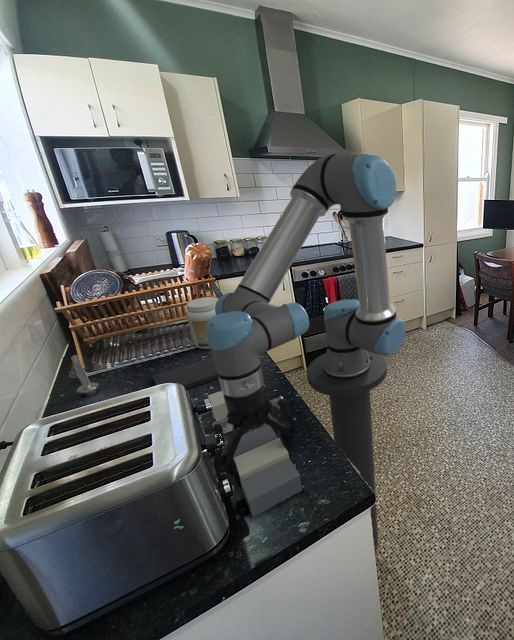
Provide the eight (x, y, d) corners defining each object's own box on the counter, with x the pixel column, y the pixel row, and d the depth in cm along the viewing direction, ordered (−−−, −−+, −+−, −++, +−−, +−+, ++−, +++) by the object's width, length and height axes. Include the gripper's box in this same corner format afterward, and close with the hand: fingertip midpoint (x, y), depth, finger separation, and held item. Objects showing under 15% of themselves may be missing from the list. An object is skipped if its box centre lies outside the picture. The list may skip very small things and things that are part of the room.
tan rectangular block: (282, 451, 83) (279, 437, 81) (291, 467, 79) (288, 452, 77) (236, 472, 77) (232, 458, 75) (244, 491, 73) (239, 475, 71)
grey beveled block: (292, 472, 78) (289, 457, 76) (302, 490, 74) (299, 475, 72) (244, 496, 72) (240, 481, 70) (252, 517, 68) (248, 501, 66)
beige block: (251, 395, 97) (248, 381, 95) (258, 405, 92) (255, 392, 91) (211, 409, 91) (207, 395, 89) (216, 421, 86) (212, 407, 85)
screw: (76, 399, 100) (84, 390, 104) (97, 396, 102) (104, 387, 106) (57, 361, 95) (66, 352, 99) (80, 358, 96) (88, 350, 100)
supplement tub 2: (238, 340, 135) (228, 300, 128) (206, 353, 126) (194, 310, 119) (220, 333, 141) (210, 293, 134) (188, 344, 131) (176, 303, 125)
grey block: (272, 437, 88) (269, 423, 86) (280, 451, 84) (277, 437, 82) (228, 456, 82) (224, 442, 80) (234, 472, 78) (230, 457, 76)
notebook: (160, 397, 102) (237, 371, 115) (158, 393, 101) (236, 367, 115) (153, 379, 110) (226, 357, 124) (151, 375, 110) (225, 353, 123)
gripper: (179, 422, 59) (210, 510, 69) (306, 376, 73) (318, 455, 82) (173, 400, 65) (203, 485, 74) (293, 361, 78) (306, 437, 87)
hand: (264, 469), depth 78 cm, fingers closed on tan rectangular block, 10 cm apart
